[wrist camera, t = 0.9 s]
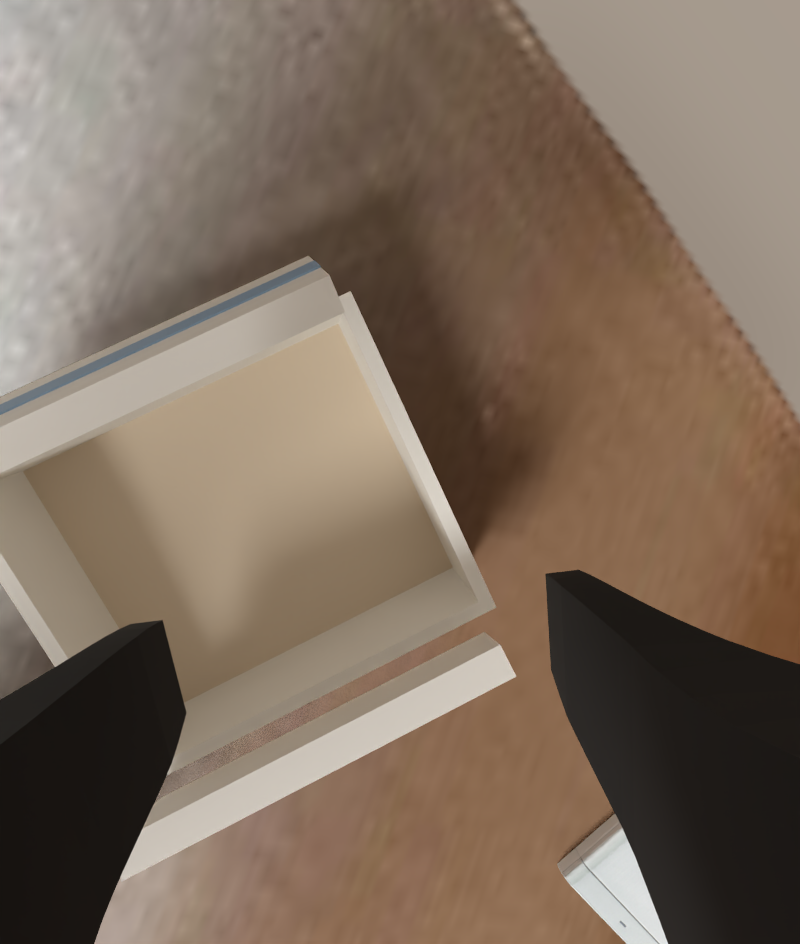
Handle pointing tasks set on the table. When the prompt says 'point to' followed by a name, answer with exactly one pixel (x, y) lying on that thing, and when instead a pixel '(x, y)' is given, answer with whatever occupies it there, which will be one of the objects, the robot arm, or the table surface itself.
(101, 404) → the flap
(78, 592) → the carton
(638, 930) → the hard drive
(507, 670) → the flap
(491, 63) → the table surface
